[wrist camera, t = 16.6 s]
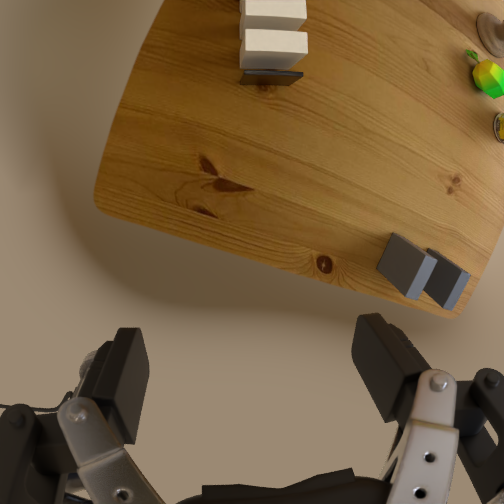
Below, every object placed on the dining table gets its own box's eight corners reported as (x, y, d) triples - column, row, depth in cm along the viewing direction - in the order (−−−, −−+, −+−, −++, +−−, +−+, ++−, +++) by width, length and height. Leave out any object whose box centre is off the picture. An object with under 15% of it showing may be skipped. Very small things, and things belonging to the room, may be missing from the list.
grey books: (376, 268, 45) (404, 297, 37) (392, 232, 43) (425, 255, 35) (422, 284, 47) (452, 311, 39) (437, 252, 45) (471, 274, 37)
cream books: (239, -26, 28) (244, -60, 20) (285, -24, 29) (301, -55, 20) (240, 84, 34) (245, 70, 26) (289, 85, 35) (308, 73, 26)
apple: (521, 93, 29) (490, 49, 27) (494, 112, 34) (463, 71, 32) (505, 74, 33) (475, 35, 30) (482, 92, 38) (451, 55, 35)
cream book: (239, 51, 33) (245, 28, 24) (288, 52, 33) (307, 32, 25) (239, 68, 34) (245, 50, 25) (288, 69, 34) (307, 53, 26)
